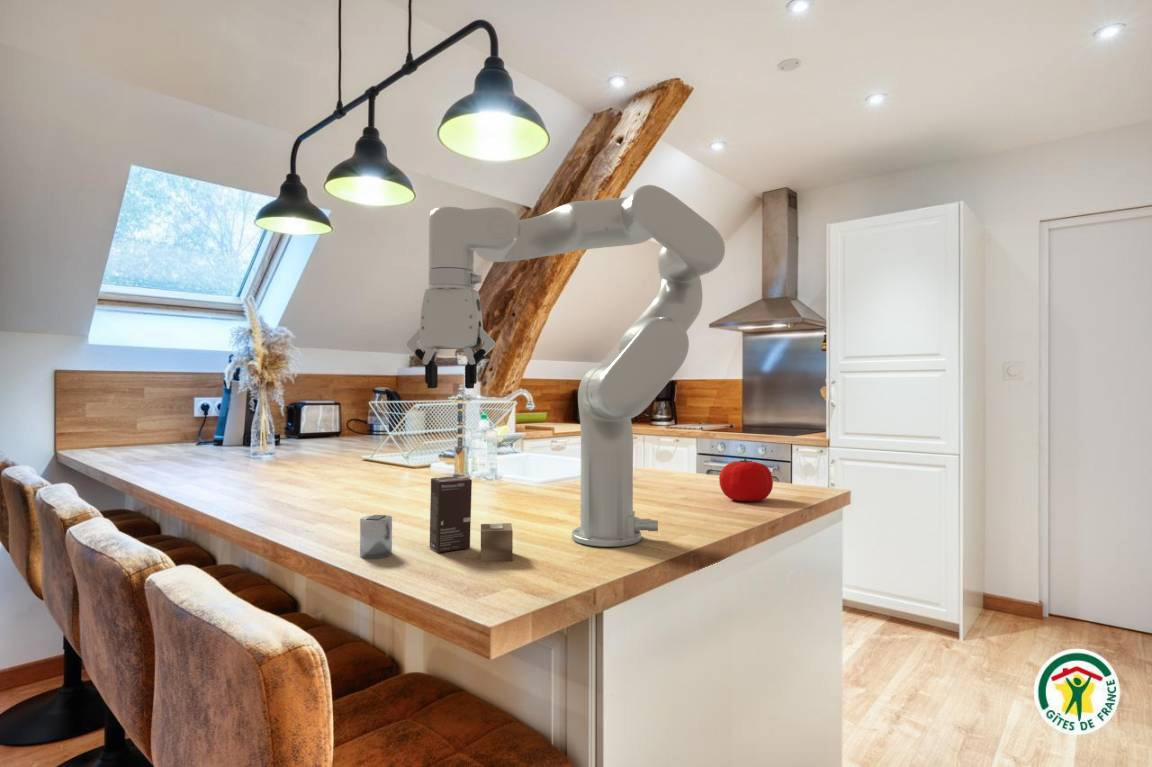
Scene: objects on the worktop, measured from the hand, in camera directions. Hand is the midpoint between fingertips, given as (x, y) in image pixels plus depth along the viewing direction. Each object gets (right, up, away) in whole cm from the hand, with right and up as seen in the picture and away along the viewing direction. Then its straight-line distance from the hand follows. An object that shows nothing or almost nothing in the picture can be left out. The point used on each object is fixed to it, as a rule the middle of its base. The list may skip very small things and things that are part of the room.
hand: (450, 387), depth 105 cm
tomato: (+62, -28, +44) cm, 81 cm away
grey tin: (-12, -28, -4) cm, 30 cm away
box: (0, -28, 0) cm, 28 cm away
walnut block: (+8, -28, -5) cm, 29 cm away
